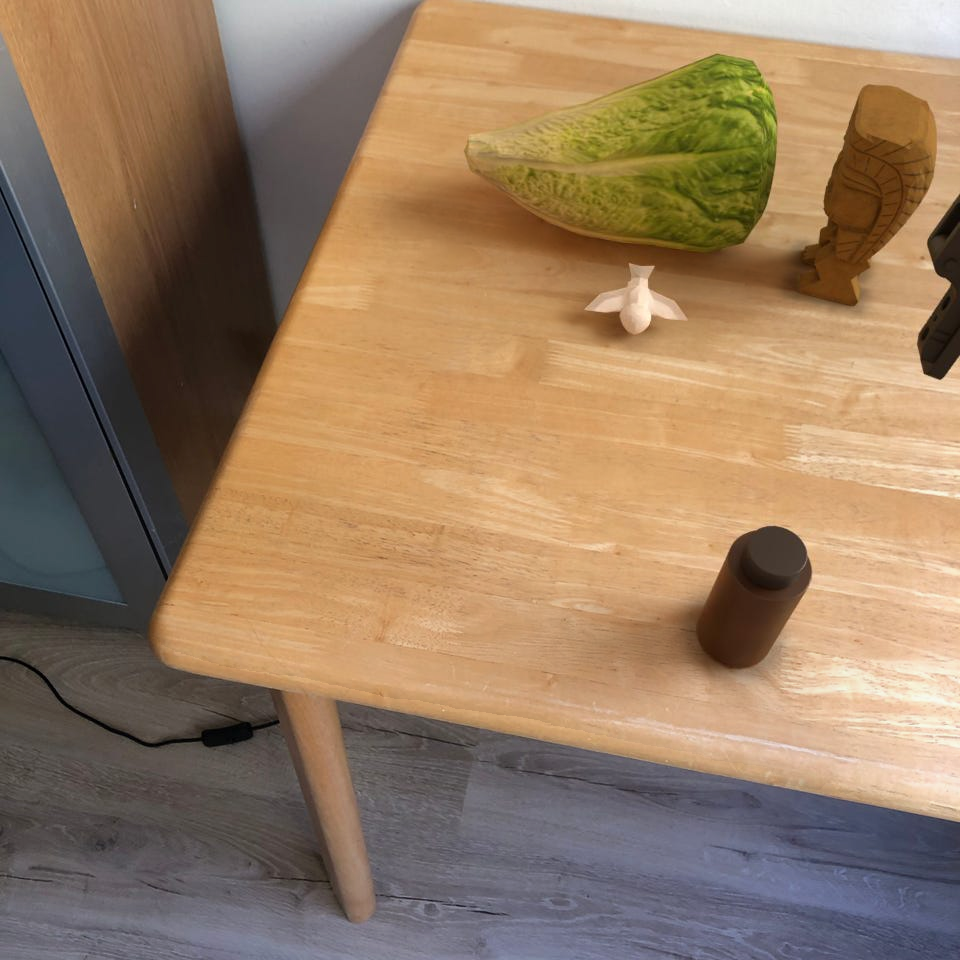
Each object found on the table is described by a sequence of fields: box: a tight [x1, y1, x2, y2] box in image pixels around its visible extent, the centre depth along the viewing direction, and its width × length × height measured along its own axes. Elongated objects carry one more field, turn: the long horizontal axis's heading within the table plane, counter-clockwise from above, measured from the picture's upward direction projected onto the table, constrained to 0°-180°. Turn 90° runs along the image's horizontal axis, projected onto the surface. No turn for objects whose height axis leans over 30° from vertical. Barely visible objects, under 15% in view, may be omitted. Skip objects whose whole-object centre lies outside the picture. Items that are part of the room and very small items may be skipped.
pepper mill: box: [696, 525, 813, 669], centre depth 56 cm, size 5×5×10 cm
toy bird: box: [583, 262, 688, 335], centre depth 74 cm, size 8×5×5 cm, turn 83°
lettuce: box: [463, 53, 778, 253], centre depth 78 cm, size 14×24×15 cm
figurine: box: [796, 83, 938, 307], centre depth 73 cm, size 7×7×15 cm
